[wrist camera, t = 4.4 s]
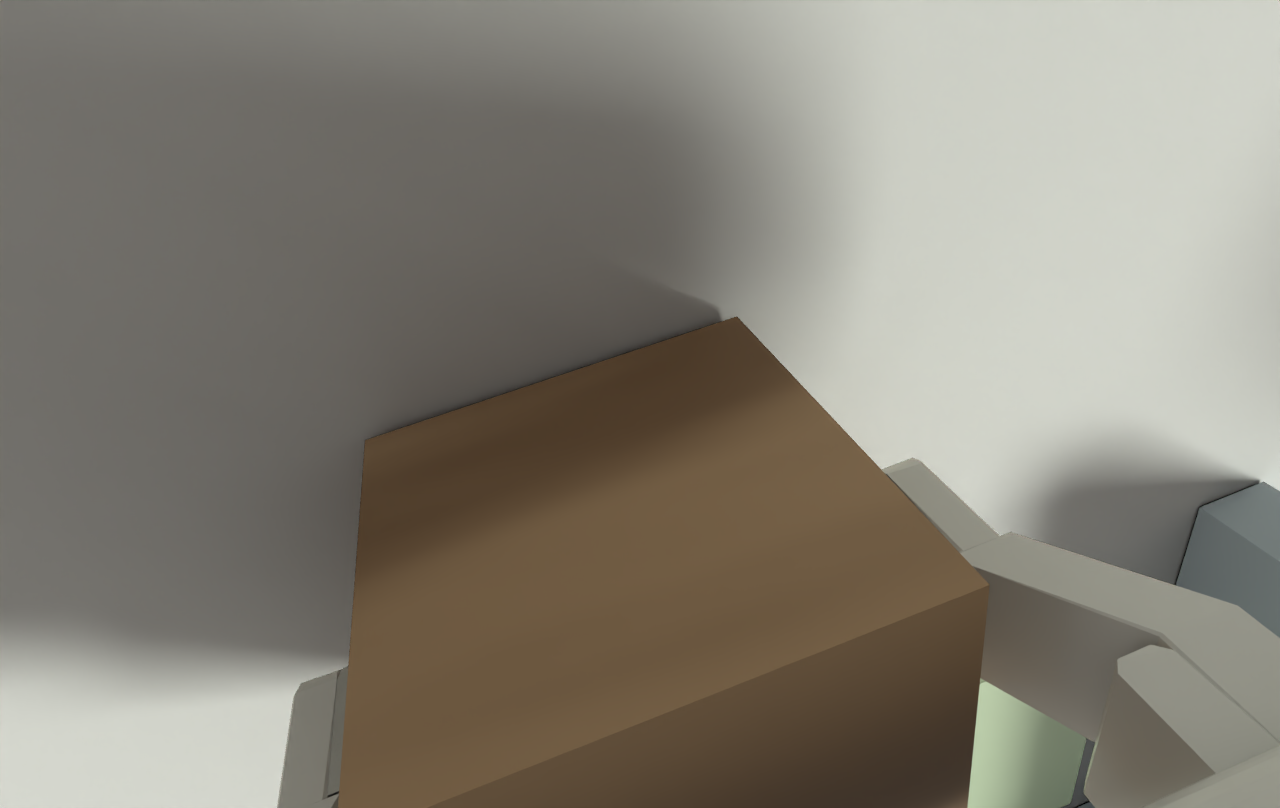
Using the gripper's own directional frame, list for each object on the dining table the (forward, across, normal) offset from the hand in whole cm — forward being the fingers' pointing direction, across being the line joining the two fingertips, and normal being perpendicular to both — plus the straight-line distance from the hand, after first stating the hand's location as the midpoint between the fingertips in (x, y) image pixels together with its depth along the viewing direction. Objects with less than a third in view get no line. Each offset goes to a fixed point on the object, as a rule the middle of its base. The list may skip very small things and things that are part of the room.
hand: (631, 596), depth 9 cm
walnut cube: (+2, 0, 0) cm, 2 cm away
